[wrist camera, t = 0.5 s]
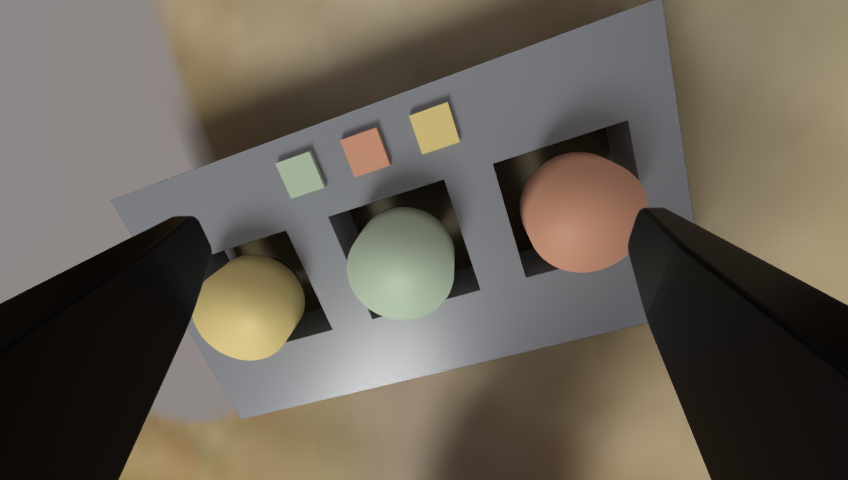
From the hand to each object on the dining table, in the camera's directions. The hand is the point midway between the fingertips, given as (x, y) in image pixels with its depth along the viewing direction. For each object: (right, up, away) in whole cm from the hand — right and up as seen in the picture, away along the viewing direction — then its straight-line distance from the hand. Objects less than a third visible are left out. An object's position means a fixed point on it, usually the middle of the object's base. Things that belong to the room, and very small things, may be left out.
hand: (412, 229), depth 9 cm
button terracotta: (+7, +2, +10) cm, 12 cm away
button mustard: (-8, -3, +13) cm, 15 cm away
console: (0, 0, +13) cm, 13 cm away
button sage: (-1, 0, +12) cm, 12 cm away
